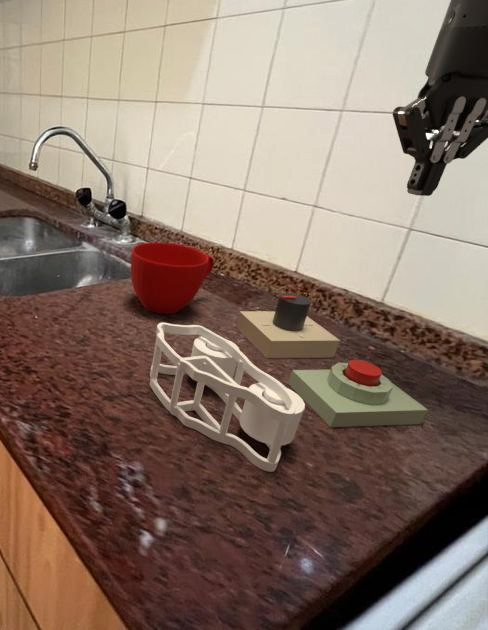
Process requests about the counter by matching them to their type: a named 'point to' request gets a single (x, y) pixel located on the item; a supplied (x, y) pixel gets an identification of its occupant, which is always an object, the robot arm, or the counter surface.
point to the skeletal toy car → (228, 393)
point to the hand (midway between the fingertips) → (418, 194)
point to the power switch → (355, 399)
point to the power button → (363, 373)
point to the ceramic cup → (168, 275)
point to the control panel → (286, 337)
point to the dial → (291, 311)
